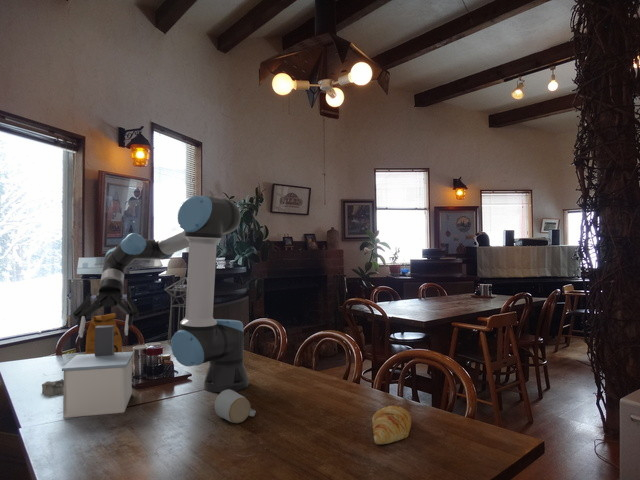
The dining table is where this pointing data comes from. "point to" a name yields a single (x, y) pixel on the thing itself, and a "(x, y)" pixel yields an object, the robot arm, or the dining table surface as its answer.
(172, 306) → the geometric lantern
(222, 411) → the ceramic mug
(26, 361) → the dining table surface
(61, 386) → the grey piece
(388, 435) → the croissant
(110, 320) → the coffee package
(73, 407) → the storage box
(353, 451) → the dining table surface
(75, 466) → the dining table surface
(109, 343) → the lid
